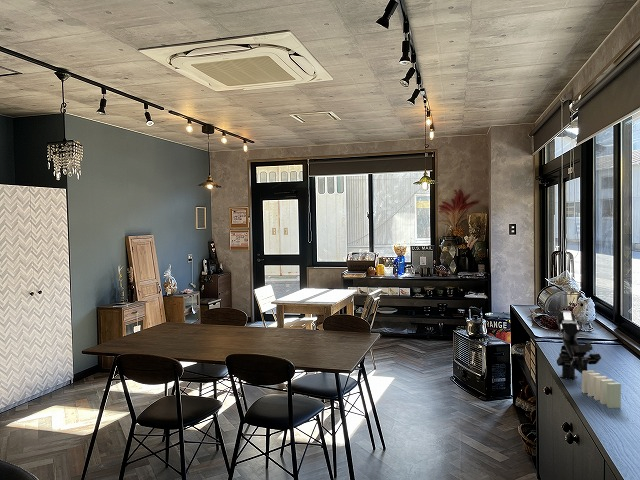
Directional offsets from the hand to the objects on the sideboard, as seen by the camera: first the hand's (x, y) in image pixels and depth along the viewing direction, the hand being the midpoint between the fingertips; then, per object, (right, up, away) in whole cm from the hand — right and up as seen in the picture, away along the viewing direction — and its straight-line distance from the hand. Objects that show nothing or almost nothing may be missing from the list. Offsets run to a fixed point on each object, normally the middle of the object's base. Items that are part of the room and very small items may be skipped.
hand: (586, 376), depth 224 cm
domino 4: (+2, -8, -13) cm, 15 cm away
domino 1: (0, -7, 0) cm, 7 cm away
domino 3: (+1, -8, -9) cm, 12 cm away
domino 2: (+1, -7, -5) cm, 9 cm away
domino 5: (+2, -8, -18) cm, 19 cm away
